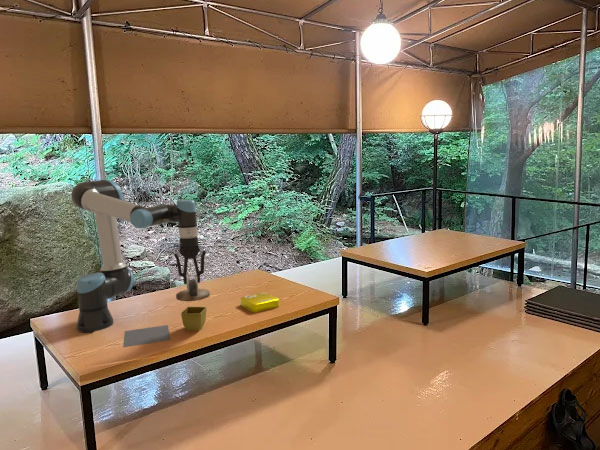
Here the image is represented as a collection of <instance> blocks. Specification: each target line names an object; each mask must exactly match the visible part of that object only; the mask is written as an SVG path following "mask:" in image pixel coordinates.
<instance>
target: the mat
mask: <svg viewBox="0 0 600 450" xmlns="http://www.w3.org/2000/svg"><path fill="white" fill-rule="evenodd" d="M123 336H124V338H123V345H122V347H123V348H126V347H134V346H140V345H147V344H154V343H161V342H167V341H171V337H170V330H169V325H168V324H167V325H166V324H165V325H159V326H152V327H147V328H146V327H145V328H143V327H142V328H138V329H130V330H124V335H123Z"/></svg>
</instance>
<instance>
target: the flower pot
mask: <svg viewBox="0 0 600 450" xmlns="http://www.w3.org/2000/svg"><path fill="white" fill-rule="evenodd" d="M207 308H208V307H207V306H186V307H185V308H184V309H183V311H182V312H181V313H180V316H181V319H182V321H181V322H182V325H183V327H184V328H185V330H186V331H187V332H199V331H201V330H202V328H203V327H204V325H205V322H206V318H207Z"/></svg>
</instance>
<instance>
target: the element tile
mask: <svg viewBox="0 0 600 450" xmlns="http://www.w3.org/2000/svg"><path fill="white" fill-rule="evenodd" d="M240 307H242V308H243V309H245V310H248V311H249V312H251V313H259V312H263V311H267V310H271V309H275V308H279V307H280V299H279V297H276V296H274V295H272V294H270V293H269V292H266V291H263V292H259V293H254V294H250V295H245V296H242V297H241V298H240Z"/></svg>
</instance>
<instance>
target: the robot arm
mask: <svg viewBox="0 0 600 450" xmlns="http://www.w3.org/2000/svg"><path fill="white" fill-rule="evenodd" d="M70 195H71V196H70V197H71V201H72V202H73V204H74V205H75V206H76V207H77V208H78V209H81V210H84V211H87V212H92V213H93V214H94V215H95V220H96V227H97V232H98V233H97V234H98V238H99V245H100V246H99V247H100V252H101V253H100V254H101V260H102V265H101V268H100V272H92V273H87V274H85V275H82V276H80V277H79V278H78V279H77V281H76V292H77V299H78V300H77V301H78V310H79V314H78V317H77V321H76V329H77V331H78V330H79V331H78V332H80V331H82V332H81V333H94V332H96V331H101V330H104V329H107V328H110V327H111V326H113V324H114V318H113V316H112V314H111V311H110V310H109V306H108V300H109V299H112V298H114V297H118V296H122V295H124V294H125V293H127V292H129V291H131V289H132V288H133V287H134V284H135V275H134V273H133V272H132V270H131V269H130V268H129V267H128V266H127V264H126V263H125V262H123V255H122V248H121V242H120V233H119V228H118V227H119V226H118V221H117V219H120V220H123V221H126V222H130V223H131V225H132V226H133V227H134V228H135V229H146V228H149V227H153V226H158V225H163V224H167V223H177V224H178V234H179V235H178V236H179V237H180V238H179V247H180V248H179V250H178V251H177V252H174V253H173V257H174V258H175V260H176V266H177V272H178V276H179V277H182V278H183V284H184V285H186V290H187V292H189V280H190V279H189V276H188V261H189V260H190V259H191V260H193V264H194V265H193V266H194V269H195V273H196V274H194V279H195V281H196V284H197V291H198V289H199V283H200V284H201V275H203V274H205V256H206V253H207V251H206V250H205V249H200V247H199V238H198V224H197V223H198V222H197V207H196V201H195V200H193V199H180V200H177V202H176V204H166V203H162V204H160V203H159V204H157V205H155V206H152V207H151V206H150V207H144V206H142V205H139V204H136V203H132V202H129V201H126V200H122V198H123V193H122V189H121V187H120V186H119V184H117V183H116V181H113V180H111V179H100V180H99V179H98V180H91V181H90V180H89V181H83V182H79V183H78V184H76V185H75V186H74V187H73V188H72V190H71V193H70ZM198 255H200V270H199V264H198V259H197V256H198ZM180 256H182V257H183V272H182V267H181V261H180Z"/></svg>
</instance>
